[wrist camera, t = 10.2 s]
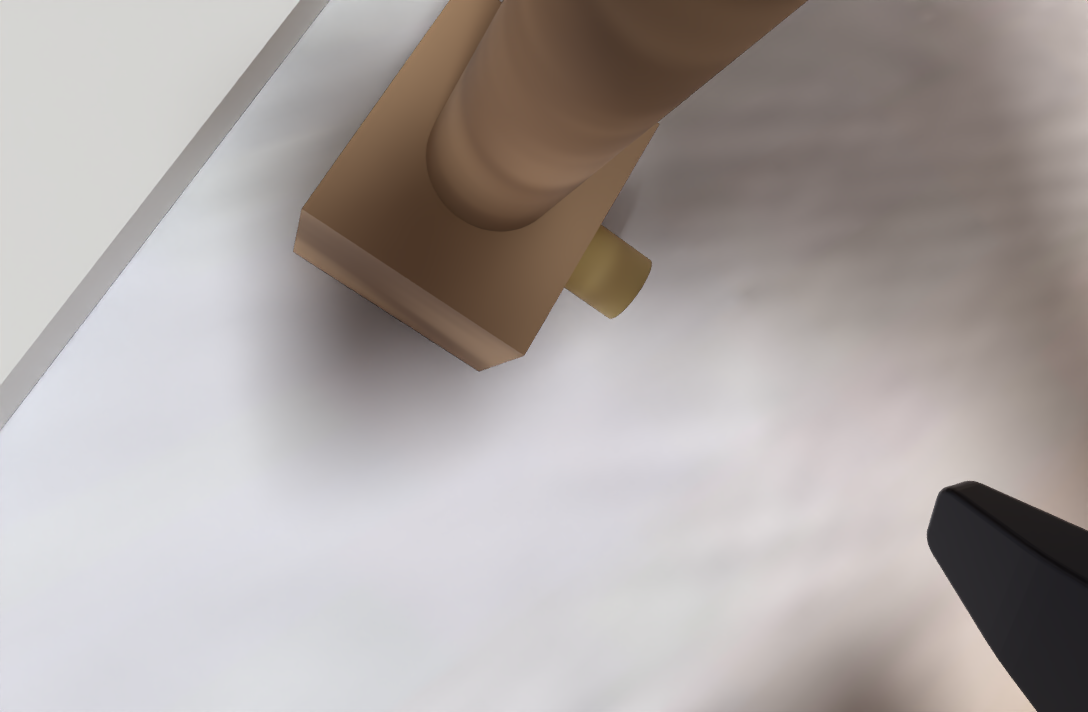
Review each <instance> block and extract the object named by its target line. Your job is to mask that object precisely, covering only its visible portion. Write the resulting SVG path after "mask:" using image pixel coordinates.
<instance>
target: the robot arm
mask: <svg viewBox="0 0 1088 712" xmlns="http://www.w3.org/2000/svg"><path fill="white" fill-rule="evenodd" d="M927 541H928V545H929V547H930V550H931V552H932V554H933V555H934V557H935V559H936V560H937V562H938V564H939V565H940V567H941V568H942V570H943V572H944V573H945V575H946V577H947V578H948V580H949V581H950V583H951V585H952V586H953V588H954V590H955V591H956V593H957V594H958V596H959V598H960V599H961V601H962V603H963V604H964V606H965V607H966V609H967V611H968V612H969V614H970V616H971V617H972V619H973V620H974V622H975V624H976V625H977V627H978V629H979V630H980V632H981V633H982V635H983V637H984V638H985V640H986V641H987V643H988V645H989V646H990V648H991V649H992V651H993V652H994V654H995V655H996V657H997V658H998V660H999V661H1000V662H1001V664H1002V665H1003V667H1004V668H1005V669H1006V671H1007V672H1008V674H1009V675H1010V676H1011V678H1012V679H1013V680H1014V682H1015V683H1016V684H1017V686H1018V687H1019V688H1020V690H1021V691H1022V692H1023V693H1024V695H1025V696H1026V697H1027V699H1028V700H1029V701H1030V703H1031V704H1032V705H1033V707H1034V708H1035V709H1036V711H1037V712H1088V531H1087V530H1085V529H1083V528H1081V527H1078V526H1076V525H1074V524H1072V523H1069V522H1067V521H1065V520H1063V519H1060V518H1058V517H1056V516H1054V515H1051V514H1049V513H1047V512H1045V511H1042V510H1040V509H1038V508H1036V507H1033V506H1031V505H1029V504H1026V503H1024V502H1022V501H1020V500H1017V499H1015V498H1013V497H1011V496H1008V495H1006V494H1004V493H1002V492H999V491H997V490H995V489H993V488H990V487H988V486H986V485H984V484H981V483H979V482H975V481H965V482H961V483H958V484H955V485H952V486H949V487H945V488H943V489H942V490H941V491H940V492H939V494H938V496H937V499H936V502H935V506H934V509H933V512H932V516H931V519H930V523H929V526H928V529H927Z"/></svg>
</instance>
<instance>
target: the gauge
mask: <svg viewBox="0 0 1088 712" xmlns="http://www.w3.org/2000/svg"><path fill="white" fill-rule="evenodd" d="M806 1H808V0H503V2H501V1H499V0H450V1H449V2H448V3H447V5H446V6H445V8H444V9H443V10H442V12H441V13H440V15H439V16H438V17H437V19H436V20H435V22H434V23H433V25H432V26H431V27H430V29H429V30H428V32H427V33H426V34H425V36H424V37H423V39H422V40H421V41H420V43H419V44H418V46H417V47H416V48H415V50H414V51H413V53H412V54H411V56H410V57H409V58H408V60H407V61H406V63H405V64H404V65H403V67H402V68H401V70H400V71H399V72H398V74H397V75H396V77H395V78H394V79H393V81H392V82H391V84H390V85H389V87H388V88H387V89H386V91H385V92H384V94H383V95H382V96H381V98H380V99H379V101H378V102H377V103H376V105H375V106H374V108H373V109H372V110H371V112H370V113H369V115H368V116H367V118H366V119H365V120H364V122H363V123H362V125H361V126H360V127H359V129H358V130H357V132H356V133H355V134H354V136H353V137H352V139H351V140H350V141H349V143H348V144H347V146H346V147H345V149H344V150H343V151H342V153H341V154H340V156H339V157H338V158H337V160H336V161H335V163H334V164H333V165H332V167H331V168H330V170H329V171H328V173H327V174H326V175H325V177H324V178H323V180H322V181H321V182H320V184H319V185H318V187H317V188H316V189H315V191H314V192H313V194H312V195H311V196H310V198H309V199H308V201H307V202H306V204H305V205H304V206H303V208H302V210H301V215H300V220H299V225H298V230H297V235H296V240H295V245H294V250H293V252H294V253H296V254H297V255H299V256H301V257H302V258H304V259H305V260H307V261H308V262H310V263H311V264H313V265H314V266H316V267H318V268H319V269H321V270H322V271H324V272H325V273H327V274H328V275H330V276H332V277H333V278H335V279H336V280H338V281H339V282H341V283H342V284H344V285H345V286H347V287H349V288H350V289H352V290H353V291H355V292H356V293H358V294H359V295H361V296H363V297H364V298H366V299H367V300H369V301H370V302H372V303H373V304H375V305H376V306H378V307H380V308H381V309H383V310H384V311H386V312H387V313H389V314H390V315H392V316H394V317H395V318H397V319H398V320H400V321H401V322H403V323H404V324H406V325H407V326H409V327H411V328H412V329H414V330H415V331H417V332H418V333H420V334H421V335H423V336H425V337H426V338H428V339H429V340H431V341H432V342H434V343H435V344H437V345H438V346H440V347H442V348H443V349H445V350H446V351H448V352H449V353H451V354H452V355H454V356H456V357H457V358H459V359H460V360H462V361H463V362H465V363H466V364H468V365H469V366H471V367H473V368H474V369H476V370H477V371H482V370H484V369H487V368H490V367H493V366H496V365H499V364H502V363H504V362H507V361H510V360H513V359H516V358H519V357H522V356H524V355H525V353H526V352H527V350H528V348H529V347H530V345H531V343H532V341H533V340H534V338H535V336H536V335H537V333H538V331H539V329H540V328H541V326H542V324H543V323H544V321H545V319H546V317H547V316H548V314H549V312H550V311H551V309H552V307H553V305H554V304H555V302H556V300H557V299H558V297H559V295H560V293H561V292H562V290H563V288H566V289H567V290H569V291H570V292H572V293H573V294H575V295H576V296H577V297H579V298H580V299H582V300H583V301H585V302H586V303H588V304H589V305H590V306H592V307H593V308H595V309H596V310H598V311H599V312H601V313H602V314H604V315H605V316H606V317H608V318H609V319H612V318H614V317H616V316H618V315H619V314H620V313H621V312H623V311H624V310H625V309H626V308H627V307H628V305H629V304H630V303H631V302H632V301H633V299H634V298H635V297H636V295H637V294H638V293H639V291H640V290H641V288H642V286H643V285H644V283H645V281H646V279H647V277H648V275H649V273H650V270H651V266H652V262H651V260H649V259H648V258H647V257H645V256H644V255H643V254H641V253H640V252H638V251H637V250H636V249H634V248H633V247H631V246H630V245H629V244H627V243H626V242H625V241H623V240H622V239H620V238H619V237H618V236H616V235H615V234H613V233H612V232H611V231H609V230H608V229H607V228H605V227H604V226H602V225H601V223H602V222H603V220H604V218H605V216H606V215H607V213H608V211H609V210H610V208H611V206H612V205H613V203H614V201H615V199H616V198H617V196H618V194H619V193H620V191H621V189H622V187H623V186H624V184H625V182H626V181H627V179H628V177H629V175H630V174H631V172H632V170H633V169H634V167H635V165H636V163H637V162H638V160H639V158H640V157H641V155H642V153H643V151H644V150H645V148H646V146H647V145H648V143H649V141H650V139H651V138H652V136H653V134H654V133H655V131H656V129H657V128H658V126H659V123H657V122H658V121H660V120H661V119H662V118H663V117H665V116H666V115H667V114H668V113H670V112H671V111H672V110H673V109H674V108H676V107H677V106H678V105H679V104H681V103H682V102H683V101H684V100H686V99H687V98H688V97H689V96H690V95H692V94H693V93H694V92H695V91H697V90H698V89H699V88H700V87H702V86H703V85H704V84H705V83H707V82H708V81H709V80H710V79H711V78H713V77H714V76H715V75H716V74H718V73H719V72H720V71H721V70H723V69H724V68H725V67H726V66H728V65H729V64H730V63H731V62H732V61H734V60H735V59H736V58H737V57H739V56H740V55H741V54H742V53H744V52H745V51H746V50H747V49H748V48H750V47H751V46H752V45H753V44H755V43H756V42H757V41H758V40H760V39H761V38H762V37H763V36H765V35H766V34H767V33H768V32H769V31H771V30H772V29H773V28H774V27H776V26H777V25H778V24H779V23H781V22H782V21H783V20H784V19H785V18H787V17H788V16H789V15H790V14H792V13H793V12H794V11H795V10H797V9H798V8H799V7H800V6H802V5H803V4H804V3H805V2H806Z"/></svg>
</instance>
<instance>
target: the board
mask: <svg viewBox="0 0 1088 712" xmlns="http://www.w3.org/2000/svg"><path fill="white" fill-rule="evenodd" d="M328 1H329V0H0V430H1V429H2V428H3V426H4V425H5V424H6V422H7V421H8V420H9V418H10V417H11V416H12V415H13V413H14V412H15V411H16V409H17V408H18V407H19V405H20V404H21V403H22V401H23V400H24V399H25V398H26V396H27V395H28V394H29V392H30V391H31V390H32V388H33V387H34V386H35V384H36V383H37V382H38V381H39V379H40V378H41V377H42V375H43V374H44V373H45V371H46V370H47V369H48V367H49V366H50V365H51V364H52V362H53V361H54V360H55V358H56V357H57V356H58V354H59V353H60V352H61V350H62V349H63V348H64V347H65V345H66V344H67V343H68V341H69V340H70V339H71V337H72V336H73V335H74V333H75V332H76V331H77V330H78V328H79V327H80V326H81V324H82V323H83V322H84V320H85V319H86V318H87V316H88V315H89V314H90V313H91V311H92V310H93V309H94V307H95V306H96V305H97V303H98V302H99V301H100V299H101V298H102V297H103V296H104V294H105V293H106V292H107V290H108V289H109V288H110V286H111V285H112V284H113V282H114V281H115V280H116V279H117V277H118V276H119V275H120V273H121V272H122V271H123V269H124V268H125V267H126V265H127V264H128V263H129V262H130V260H131V259H132V258H133V256H134V255H135V254H136V252H137V251H138V250H139V248H140V247H141V246H142V245H143V243H144V242H145V241H146V239H147V238H148V237H149V235H150V234H151V233H152V231H153V230H154V229H155V228H156V226H157V225H158V224H159V222H160V221H161V220H162V218H163V217H164V216H165V214H166V213H167V212H168V211H169V209H170V208H171V207H172V205H173V204H174V203H175V201H176V200H177V199H178V198H179V196H180V195H181V194H182V192H183V191H184V190H185V188H186V187H187V186H188V184H189V183H190V182H191V181H192V179H193V178H194V177H195V175H196V174H197V173H198V171H199V170H200V169H201V167H202V166H203V165H204V164H205V162H206V161H207V160H208V158H209V157H210V156H211V154H212V153H213V152H214V150H215V149H216V148H217V147H218V145H219V144H220V143H221V141H222V140H223V139H224V137H225V136H226V135H227V133H228V132H229V131H230V130H231V128H232V127H233V126H234V124H235V123H236V122H237V120H238V119H239V118H240V116H241V115H242V114H243V113H244V111H245V110H246V109H247V107H248V106H249V105H250V103H251V102H252V101H253V99H254V98H255V97H256V96H257V94H258V93H259V92H260V90H261V89H262V88H263V86H264V85H265V84H266V82H267V81H268V80H269V79H270V77H271V76H272V75H273V73H274V72H275V71H276V69H277V68H278V67H279V65H280V64H281V63H282V62H283V60H284V59H285V58H286V56H287V55H288V54H289V52H290V51H291V50H292V48H293V47H294V46H295V45H296V43H297V42H298V41H299V39H300V38H301V37H302V35H303V34H304V33H305V31H306V30H307V29H308V28H309V26H310V25H311V24H312V22H313V21H314V20H315V18H316V17H317V16H318V14H319V13H320V12H321V11H322V9H323V8H324V7H325V5H326V4H327V3H328Z"/></svg>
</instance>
